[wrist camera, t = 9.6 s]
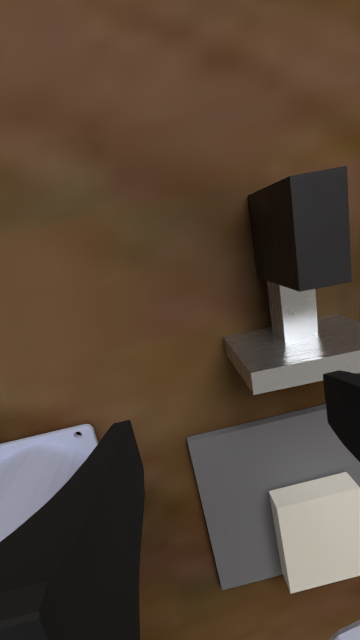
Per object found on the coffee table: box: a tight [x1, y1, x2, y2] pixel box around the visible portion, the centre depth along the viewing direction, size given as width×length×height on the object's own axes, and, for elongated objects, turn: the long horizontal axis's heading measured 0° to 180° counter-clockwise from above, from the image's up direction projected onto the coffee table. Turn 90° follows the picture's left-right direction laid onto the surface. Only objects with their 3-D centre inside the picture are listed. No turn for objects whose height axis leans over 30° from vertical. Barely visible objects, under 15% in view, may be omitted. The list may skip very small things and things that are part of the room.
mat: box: [187, 404, 360, 590], centre depth 24 cm, size 16×14×1 cm
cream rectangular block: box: [269, 472, 360, 593], centre depth 24 cm, size 6×2×8 cm
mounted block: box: [223, 166, 360, 395], centre depth 18 cm, size 8×10×6 cm
